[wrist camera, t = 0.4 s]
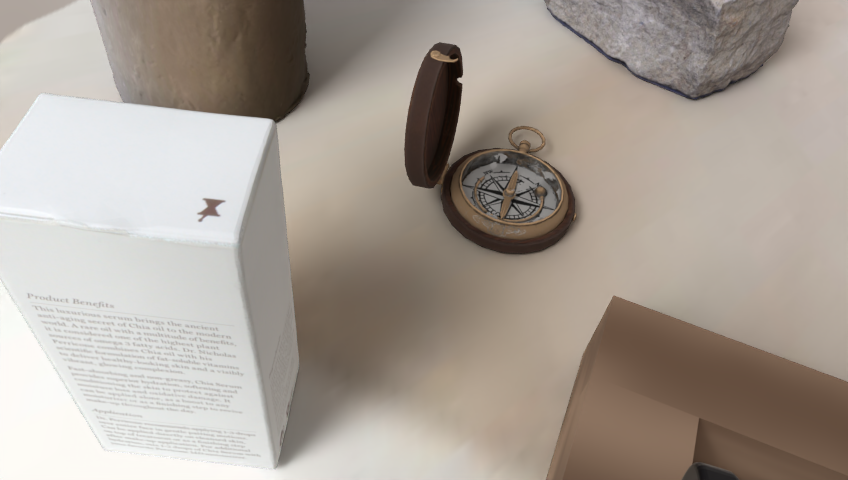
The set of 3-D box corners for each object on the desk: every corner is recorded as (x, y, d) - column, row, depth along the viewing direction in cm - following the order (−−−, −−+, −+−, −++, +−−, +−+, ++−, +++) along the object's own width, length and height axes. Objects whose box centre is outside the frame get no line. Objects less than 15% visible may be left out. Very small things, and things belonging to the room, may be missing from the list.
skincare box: (302, 363, 26) (285, 115, 17) (277, 474, 24) (243, 248, 14) (140, 344, 26) (36, 84, 17) (96, 453, 23) (-55, 212, 14)
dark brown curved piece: (560, 275, 30) (611, 151, 25) (388, 223, 31) (400, 93, 26) (587, 157, 36) (634, 33, 30) (438, 116, 37) (457, -12, 31)
